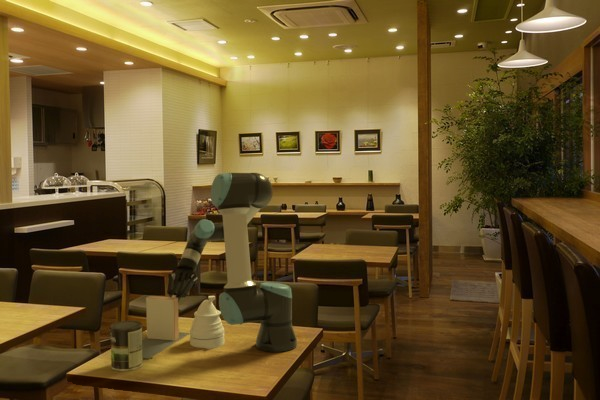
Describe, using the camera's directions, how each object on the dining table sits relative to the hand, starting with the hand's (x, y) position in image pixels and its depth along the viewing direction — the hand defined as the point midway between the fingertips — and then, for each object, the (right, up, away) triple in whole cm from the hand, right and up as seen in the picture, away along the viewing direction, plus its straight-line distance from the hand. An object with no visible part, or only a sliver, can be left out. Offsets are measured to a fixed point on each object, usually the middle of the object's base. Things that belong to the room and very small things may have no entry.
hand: (169, 311), depth 220 cm
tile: (-2, -10, -5) cm, 11 cm away
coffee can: (-7, -12, -33) cm, 35 cm away
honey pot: (+16, -11, -10) cm, 22 cm away
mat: (-3, -10, -11) cm, 15 cm away
